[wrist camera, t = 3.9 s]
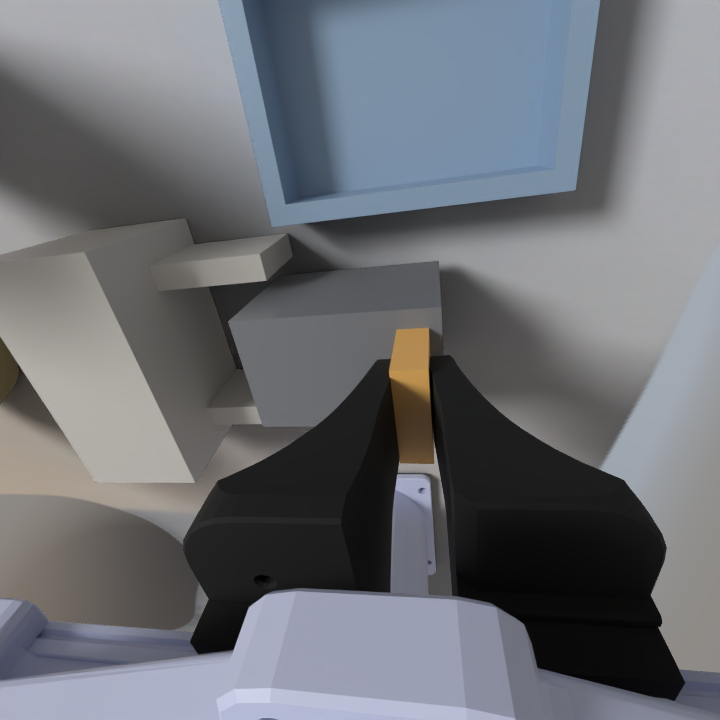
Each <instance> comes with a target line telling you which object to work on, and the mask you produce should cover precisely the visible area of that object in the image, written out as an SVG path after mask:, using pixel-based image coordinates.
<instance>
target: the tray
mask: <svg viewBox="0 0 720 720" xmlns="http://www.w3.org/2000/svg"><path fill="white" fill-rule="evenodd" d="M218 1H219V6H220V10H221V14H222V18H223V22H224V27H225V31H226V35H227V39H228V44H229V48H230V52H231V56H232V61H233V65H234V69H235V73H236V78H237V82H238V86H239V90H240V94H241V99H242V103H243V107H244V111H245V116H246V120H247V124H248V128H249V133H250V137H251V141H252V145H253V150H254V154H255V158H256V162H257V166H258V171H259V175H260V179H261V183H262V188H263V192H264V196H265V200H266V205H267V209H268V213H269V217H270V222H271V226H272V227H277V226H286V225H294V224H302V223H310V222H319V221H327V220H335V219H343V218H352V217H360V216H368V215H376V214H385V213H393V212H401V211H409V210H418V209H426V208H434V207H442V206H451V205H459V204H467V203H475V202H484V201H492V200H500V199H508V198H517V197H525V196H533V195H541V194H550V193H558V192H566V191H574V190H576V183H577V176H578V168H579V160H580V153H581V145H582V137H583V129H584V122H585V114H586V106H587V99H588V91H589V83H590V76H591V68H592V60H593V52H594V45H595V37H596V29H597V22H598V14H599V6H600V0H218Z"/></svg>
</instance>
